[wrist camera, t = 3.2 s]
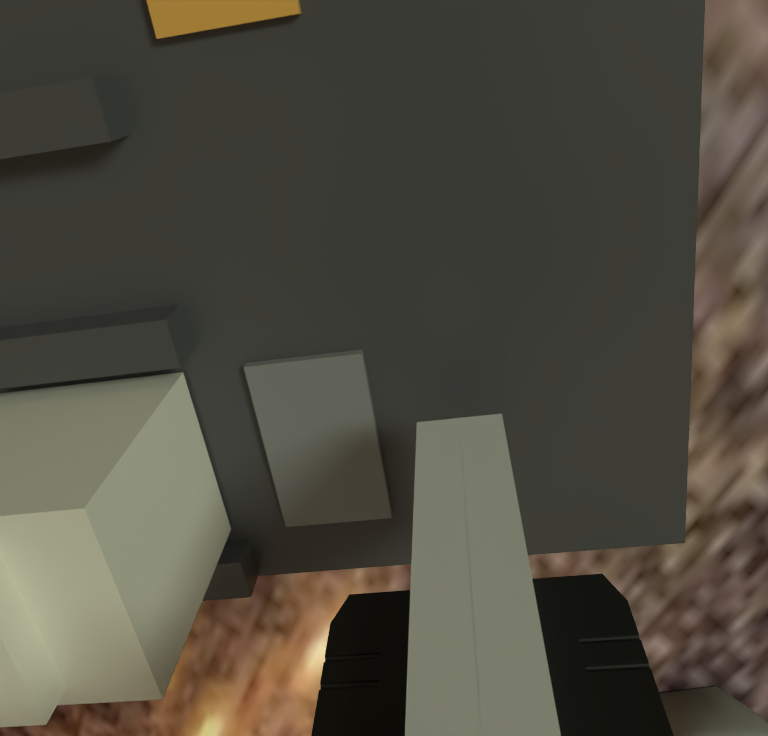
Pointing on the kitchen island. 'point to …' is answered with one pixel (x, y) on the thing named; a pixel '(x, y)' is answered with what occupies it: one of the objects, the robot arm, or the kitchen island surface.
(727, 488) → the kitchen island surface
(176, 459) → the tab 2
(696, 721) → the salt shaker
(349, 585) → the kitchen island surface
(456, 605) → the robot arm
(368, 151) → the switch bank
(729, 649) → the kitchen island surface
